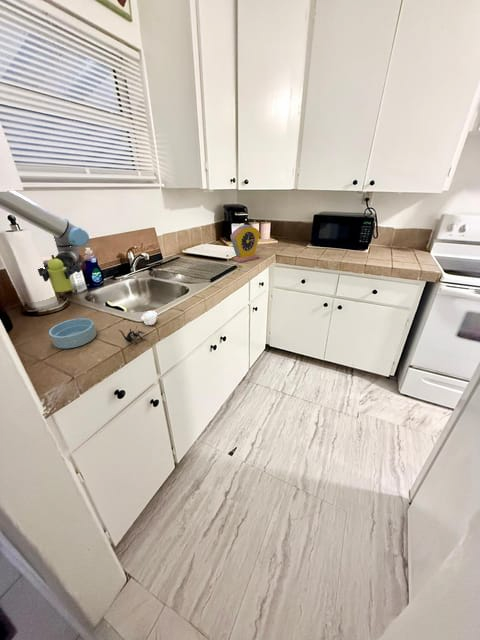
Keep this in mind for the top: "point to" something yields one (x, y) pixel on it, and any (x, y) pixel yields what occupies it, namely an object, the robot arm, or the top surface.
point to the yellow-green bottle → (58, 275)
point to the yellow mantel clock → (245, 243)
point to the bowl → (72, 333)
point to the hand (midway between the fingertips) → (55, 276)
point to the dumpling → (149, 317)
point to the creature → (131, 335)
